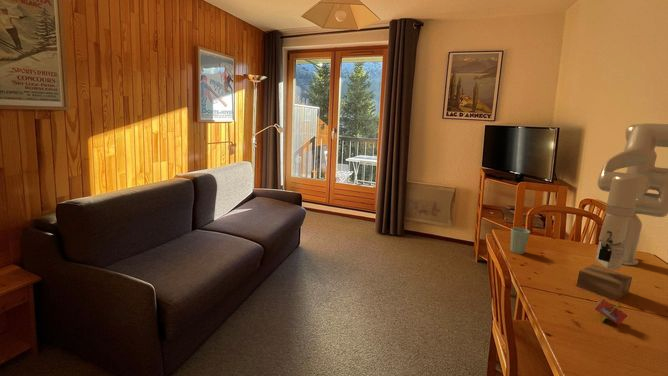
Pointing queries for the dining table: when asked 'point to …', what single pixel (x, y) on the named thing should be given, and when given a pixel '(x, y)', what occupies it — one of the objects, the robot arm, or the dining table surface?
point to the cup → (519, 240)
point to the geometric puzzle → (610, 312)
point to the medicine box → (613, 256)
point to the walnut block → (604, 282)
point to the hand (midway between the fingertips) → (609, 258)
